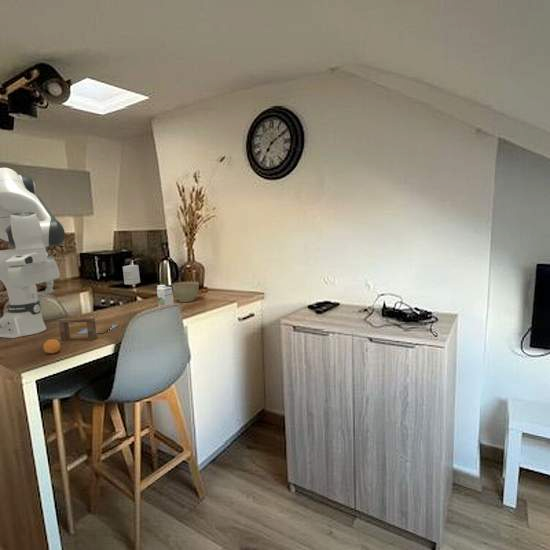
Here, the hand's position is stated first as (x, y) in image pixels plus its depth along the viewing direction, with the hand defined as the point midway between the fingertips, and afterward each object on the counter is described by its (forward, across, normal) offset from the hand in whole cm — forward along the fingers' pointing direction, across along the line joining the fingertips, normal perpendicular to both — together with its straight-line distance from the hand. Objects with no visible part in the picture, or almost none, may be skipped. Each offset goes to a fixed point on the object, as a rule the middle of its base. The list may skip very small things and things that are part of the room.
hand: (40, 295), depth 131 cm
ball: (+21, -5, -4) cm, 22 cm away
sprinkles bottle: (+26, -74, +12) cm, 79 cm away
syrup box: (+26, -61, +19) cm, 69 cm away
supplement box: (+24, -162, -50) cm, 171 cm away
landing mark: (+24, -35, -3) cm, 42 cm away
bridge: (+24, -21, -4) cm, 32 cm away
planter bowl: (+27, -92, +20) cm, 98 cm away
